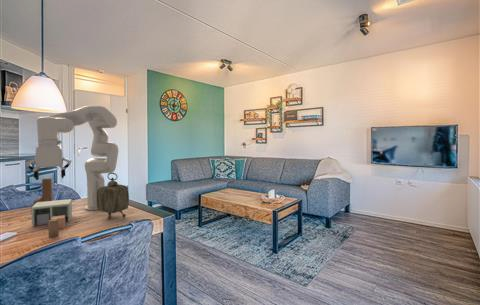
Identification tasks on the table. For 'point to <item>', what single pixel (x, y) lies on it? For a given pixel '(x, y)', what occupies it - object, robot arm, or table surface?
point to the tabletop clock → (112, 197)
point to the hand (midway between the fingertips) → (50, 178)
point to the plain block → (43, 218)
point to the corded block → (56, 225)
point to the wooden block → (45, 191)
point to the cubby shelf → (52, 209)
